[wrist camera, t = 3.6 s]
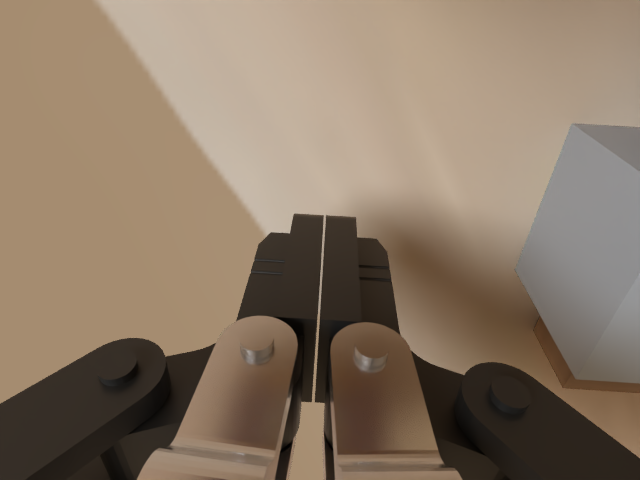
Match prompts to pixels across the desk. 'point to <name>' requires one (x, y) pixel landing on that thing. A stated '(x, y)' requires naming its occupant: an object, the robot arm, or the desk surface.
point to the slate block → (590, 253)
